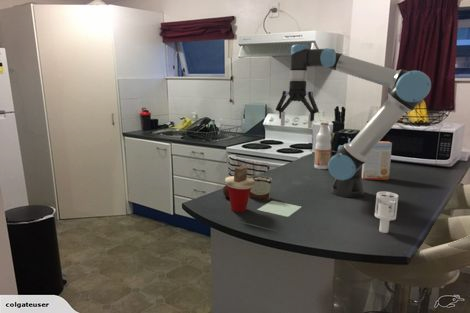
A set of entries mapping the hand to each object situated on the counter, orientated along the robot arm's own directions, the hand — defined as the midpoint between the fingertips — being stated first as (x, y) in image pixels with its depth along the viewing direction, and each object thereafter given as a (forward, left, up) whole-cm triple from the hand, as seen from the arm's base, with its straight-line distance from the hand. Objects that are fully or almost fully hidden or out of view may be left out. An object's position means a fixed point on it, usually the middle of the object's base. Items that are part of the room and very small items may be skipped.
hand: (295, 127), depth 168 cm
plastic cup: (+8, +36, -32) cm, 49 cm away
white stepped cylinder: (-46, +24, -32) cm, 61 cm away
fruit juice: (+6, -58, -32) cm, 66 cm away
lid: (+8, +36, -20) cm, 42 cm away
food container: (+9, +16, -32) cm, 37 cm away
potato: (+20, +23, -32) cm, 44 cm away
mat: (-5, +25, -32) cm, 41 cm away
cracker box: (-27, -50, -32) cm, 65 cm away
